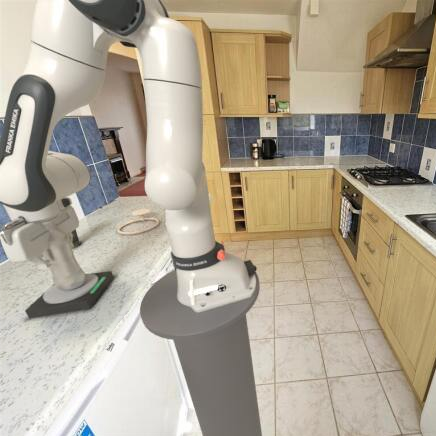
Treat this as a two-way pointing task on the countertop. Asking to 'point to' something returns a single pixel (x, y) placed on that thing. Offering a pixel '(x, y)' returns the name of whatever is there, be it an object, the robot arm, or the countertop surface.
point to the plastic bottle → (63, 260)
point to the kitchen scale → (71, 296)
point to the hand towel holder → (141, 214)
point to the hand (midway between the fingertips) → (58, 257)
